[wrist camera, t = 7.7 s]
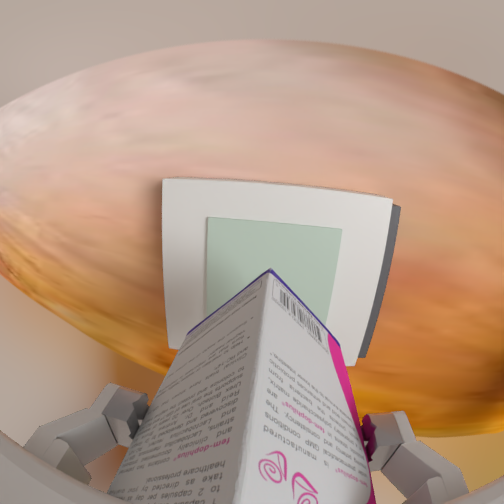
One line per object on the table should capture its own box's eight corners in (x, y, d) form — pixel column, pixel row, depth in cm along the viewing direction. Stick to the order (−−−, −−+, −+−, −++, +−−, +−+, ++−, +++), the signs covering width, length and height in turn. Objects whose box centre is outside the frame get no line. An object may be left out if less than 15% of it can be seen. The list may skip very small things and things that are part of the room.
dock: (390, 196, 20) (406, 201, 17) (358, 346, 24) (366, 368, 21) (177, 176, 22) (161, 179, 18) (179, 330, 26) (167, 349, 23)
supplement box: (183, 333, 14) (78, 531, 3) (270, 263, 13) (237, 559, 2) (257, 398, 15) (232, 584, 4) (343, 344, 14) (398, 563, 3)
